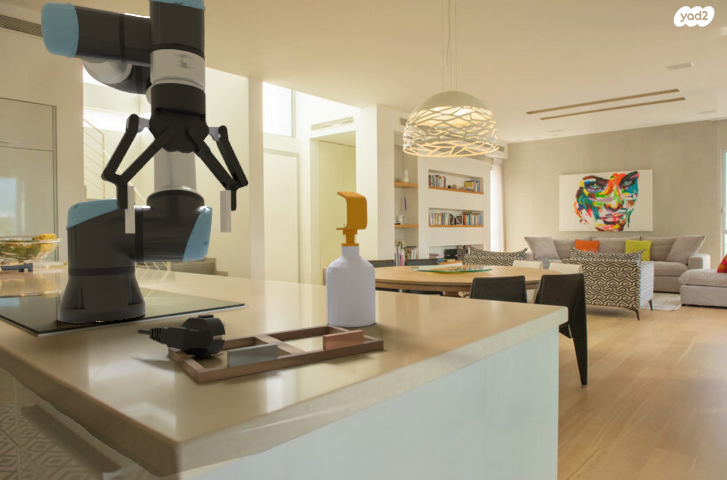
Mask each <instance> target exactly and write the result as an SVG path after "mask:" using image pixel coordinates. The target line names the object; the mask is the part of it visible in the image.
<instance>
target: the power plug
mask: <svg viewBox="0 0 727 480" xmlns="http://www.w3.org/2000/svg"><path fill="white" fill-rule="evenodd" d="M214 316H215V315H214V314H209V313H206V314H198V316H191V317H188V318H187V319H186V320H185V321H184V322H183V323H182V324H181V325H180V326H172V325H171V326H162V327H161V326H160V327H150V329H145V328H138V330H137V333H138V334H141V335H146V336H148V337H149V339H151V340H153V341H155V342H157V343H159V344H161V345H166V347H167V348H168V347H171V348H176V349H182V350H184V351H185V352H186V354H187V355H188V356H193V357H195V358H198V359H202V358H203V359H204V358H208V357H211V356H213V355H214V356H215V355H217V354H218V353H220V351H222V350H223V349H222V347H223V345H224V343H225V340H224V338H223V336H225V335H226V330H225V329H226V328H225V327H226V322H225V321H222V320H221V319H220V318H219V317H214Z"/></svg>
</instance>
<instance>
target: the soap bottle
mask: <svg viewBox="0 0 727 480" xmlns="http://www.w3.org/2000/svg"><path fill="white" fill-rule="evenodd" d="M336 194H337V195H339V196H340V197H342V198H344V199H345V202H346V224H345V227H336V231H342V235H345V242H344V243H343V242H342V243H341V247H340V248H341V249H340V250H341V251H340V252H341V254H340V256H339V257H338V258H336V259H335V260H333V261H332V262H330V264H329V265H327V268H326V271H325V291H326V292H325V293H326V300H325V301H326V303H325V305H326V309H325V310H326V323H327V325H333V326H337V327H340V328H345V329H347V328H348V329H349V328H351V329H352V328H363V327H368V326H371V325H373V324H374V323H376V313H377V312H376V270H375V267H374V265H373V264H372V263H370V261H369V260H367V259H365V258H363V257H362V256H361V254H360V243H359V242H356V241H355V239H356V238H355V236H356V235H358V231H359V230H360V231H361V230H366V229H367V227H368V200H367V197H366V196H364V195H363V194H360V193H358V192H354V191H339V190H338V191H337V192H336Z"/></svg>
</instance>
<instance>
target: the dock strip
mask: <svg viewBox="0 0 727 480" xmlns="http://www.w3.org/2000/svg"><path fill="white" fill-rule="evenodd" d="M318 335H319V336H320V335H322V348H321V349H315V350H314V349H313V350H309V351H306V350H303V349H301V348H299V347H297V346H294V345H291V344H289V343H286V342H284V341H285V340H292V339H298V338H300V339H301V338H305V337H312V336H318ZM223 339H224V338H223ZM224 340H225V343H224V345H223V347H222V349H221V350H226V349H227V350H226V365H222V366H216V367H209V368H205V367H204V366H202V365H201V364H200V363H198V362H197V361H196V360H195V359H194V358H192V357H191V356H190V355H188V354H186V352H185V351H184V350H182V349H176V348H171V347H167V353H168V354H167V355H168V356H169V357H170V358H172V359H173V361H174V362H175V363H177V364H178V365H179V366H180V367H181V368H182V369H183V370H185V372H187V373H188V374H189V375H190V376H191V377H192V378H193V379H194V380H195V381H197V382H198V383H199V384H204V383H208V382H210V383H211V382H214V381H218V380H225V379H231V378H235V377H241V376H245V375H251V374H255V373H256V374H257V373H261V372H266V371H268V372H269V371H272V370H278V369H282V368H283V369H285V368H288V367H294V366H298V365H304V364H309V363H314V362H320V361H324V360H325V361H326V360H331V359H336V358H341V357H346V356H353V355H357V354H363V353H367V352H373V351H378V350H383V349H384V348H385V347H384V346H385V345H384V344H385V343H384V339H381V338H377V337H374V336H370V335H367V334H364V330H361V329H356V330H350V329H347V328H345V327H337V326H333V325H329V324H324V325H317V326H310V327H309V326H308V327H303V328H301V327H300V328H295V329H289V330H281V331H280V330H279V331H275V332H266V333H259V334H252V335H244V336H238V337H232V338H231V337H230V338H225V339H224Z"/></svg>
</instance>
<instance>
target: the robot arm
mask: <svg viewBox="0 0 727 480" xmlns="http://www.w3.org/2000/svg"><path fill="white" fill-rule="evenodd" d="M147 1H148V2H149V3H148V5H149V9H148V10H149V15H148V16H144V15H142V16H141V15H137V14H131V13H123V12H116V11H110V10H104V9H98V8H93V7H87V6H81V5H75V4H72V3H71V2H70V3H69V2H67V3H62V2H53V1H52V2H51V1H47V2H45V3H44V4H43V5H42V7H41V11H40V26H41V28H40V29H41V34H42V35H41V36H42V41H43V43H44V46H45V49H46V51H48V52H49V53H50V54H52V55H55V56H60V57H61V56H62V57H65V58H68V59H71V58H72V59H73V58H76V59H79V60H80V61H81V62H82V65H83V68H84V70H85V71H86V72H87V74H88V75H90V77H92V78H93V79H94V80H95V81H97V82H99V83H101V84H103V85H105V86H106V87H109V88H111V89H115V90H118V91H121V92H125V93H129V94H133V95H134V94H136V95H144V96H145V98H146V100H147V102H148V104H150V116H149V117H150V118H145V117H141V116H139V115H138V114H136V113H131V114H130V115H129V116H128V117H127V119H126V122H125V131H124V133H123V135H122V137H121V139H120V140H119V142H118V144H117V145H116V147H115V150H114V151H113V153H112V155H111V157H110V159H108V162H107V164H106V165H105V167H104V169H103V170H102V173H101V175H100V178H101V180H103V182H108V183H111V184H114V186H115V190H116V191H115V192H116V197H113V198H104V199H103V198H102V199H94V200H87V201H82V202H81V201H80V202H76V203H74V204H72V205H71V206H70V207H69V208H68V210H67V219H66V226H65V230H66V231H67V232H66V235H67V236H66V238H67V240H66V241H67V242H66V243H67V282H66V284H65V288H64V291H63V294H62V297H61V299H60V302H59V305H58V308H57V321H58V320H59V321H61V322H60V323H63V322H72V323H71V324H74V323H73V322H96V321H97V322H98V321H110V322H114V321H113V320H119V321H123V319H125V320H130V318H131V319H135V318H138V317H141V316H144V315H145V314H146V301H145V299H144V296H143V293H142V291H141V288H140V285H139V283H138V280H137V276H136V263H137V264H139V263H170V262H171V263H172V262H173V263H175V262H176V263H179V262H182V263H186V262H193V261H201V260H203V259H205V258H206V257H207V256H208V252H209V247H210V241H211V231H212V225H213V223H212V222H213V207H212V206H209V205H205V198H204V197H203V196H202V194H200V193H199V192H198V191H197V189H198V188H197V171H196V157H198V158H199V159H200V161H202V162H203V164H204V165H205V166H206V167H207V168H208V170H209V171H210V172H211V174H212V175H213V176H214V177H215V179H216V180H217V181H218V182H219V183H220V184H221V186H222V187H223V188H224V189H225V190H219V209H220V210H219V215H220V216H219V217H220V219H219V221H220V222H219V223H220V233H232V212H236V211H237V204H238V203H237V201H238V200H237V192H238V190H239V189H242V188H245V187H247V186H249V180H248V178H247V176H246V174H245V172H244V169H243V168H242V166H241V165H242V164H241V163H240V160H239V159H238V157H237V155H236V153H235V151H234V148H233V147H232V143H231V141H230V140H229V132H228V127H227V126H226V125H222V124H221V125H220V126H209V125H208V123H207V108H206V107H207V106H206V105H207V104H206V103H207V100H206V98H207V96H206V94H207V93H206V92H205V91H206V58H205V57H206V56H205V42H206V41H205V39H206V38H205V35H206V32H205V31H206V30H205V29H206V28H205V27H206V26H205V22H206V21H205V20H206V19H205V17H206V15H205V14H206V13H205V11H206V6H205V0H147ZM145 128H147V129H148V130H149V132H150V134H152V136H153V140H152V142H151V143H150V144H149V145H148V146H147V147H146V148H145V150H143V151H142V153H140V154H139V155H138V157H137V158H136V159H135V160H133V162H132V163H130V164H129V166H128V167H127V168H126V169H125V170H124V171H122V173H121V174H118V173H117V172H118V169H119V167H120V166H121V163H122V162H123V160H124V158H125V156H126V155H127V154H128V151H129V149H130V147H131V146H132V144H133V142H134V140H135V138H136V137H137V134H140V133H141V132H143V130H144V129H145ZM208 136H210V137H211V139H212V140H213V141H214V142H215V143H216V147H217V149H218V151H219V153H220V155H221V157H222V160H223V161H224V164H225V166H226V168H227V170H228V171H227V170H226V168H225V167H224V166H223V165H222V163H221V162H220V161H219V160H218V158H217V157H216V155H215V154H214V153H213V152H212V150H211V147H210V146H209V145H208V144H207V142H206V141H205V140H206V138H208ZM151 159H153V187H154V188H153V190H154V191H152V192H151V193H150V194H149V195H148V196H147V197H146V202H145V203H146V205H136V202H135V185H129V184H128V183H129V182H130V181H131V180H132V179H133V178H135V176H136V175H137V174H138V173H139V172H140V171H141V170H142V169H143V168H144V167H145V166H146V165H147V164H148V163H149V161H151ZM59 321H58V322H59Z"/></svg>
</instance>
